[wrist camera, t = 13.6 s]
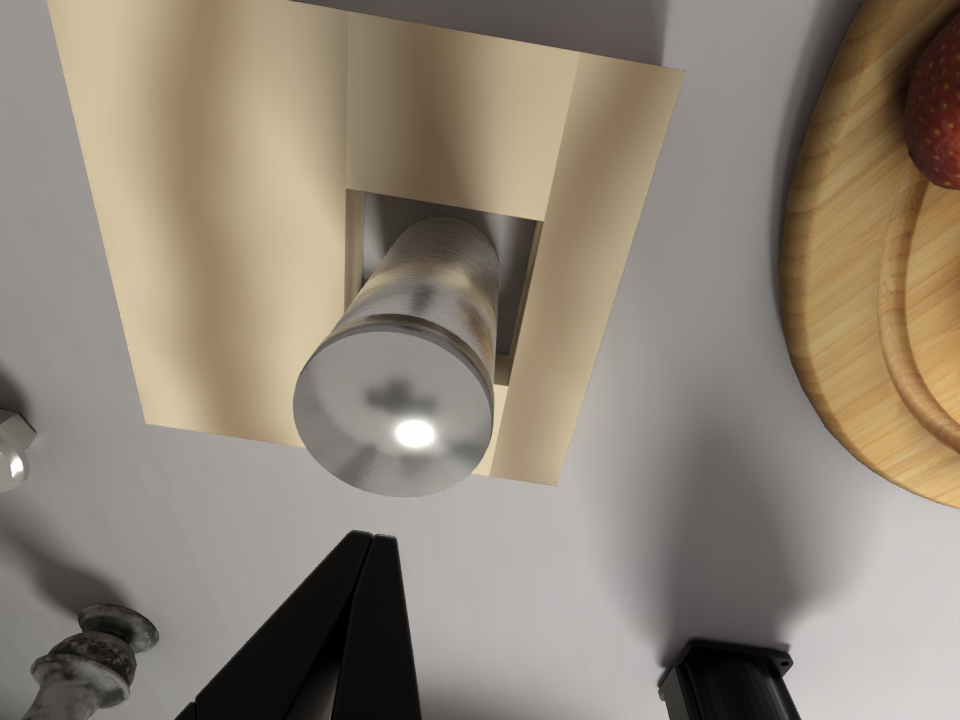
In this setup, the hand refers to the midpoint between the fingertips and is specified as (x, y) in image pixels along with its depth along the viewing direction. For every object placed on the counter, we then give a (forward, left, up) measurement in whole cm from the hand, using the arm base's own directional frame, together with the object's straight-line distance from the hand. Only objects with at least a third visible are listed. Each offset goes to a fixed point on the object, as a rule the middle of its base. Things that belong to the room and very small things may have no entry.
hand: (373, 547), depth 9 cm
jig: (+3, -1, -13) cm, 13 cm away
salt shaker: (+19, +28, -13) cm, 37 cm away
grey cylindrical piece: (0, -1, -13) cm, 13 cm away
